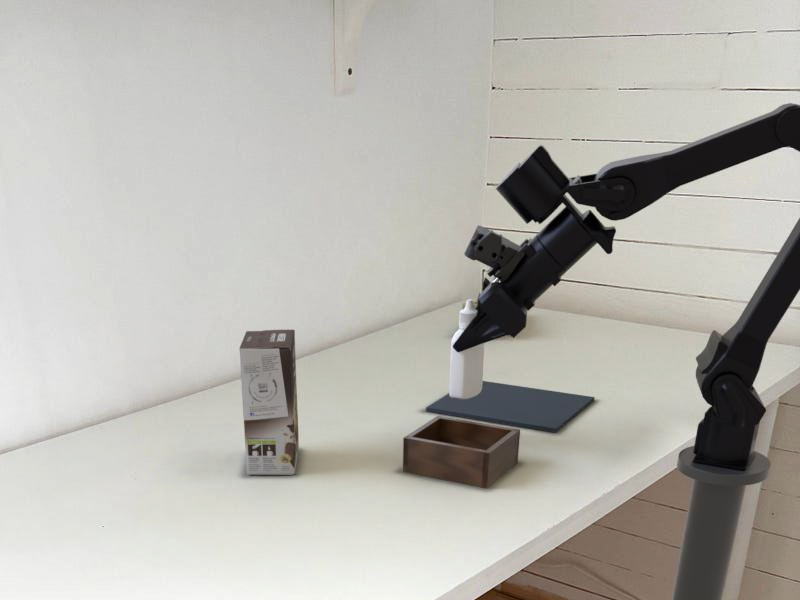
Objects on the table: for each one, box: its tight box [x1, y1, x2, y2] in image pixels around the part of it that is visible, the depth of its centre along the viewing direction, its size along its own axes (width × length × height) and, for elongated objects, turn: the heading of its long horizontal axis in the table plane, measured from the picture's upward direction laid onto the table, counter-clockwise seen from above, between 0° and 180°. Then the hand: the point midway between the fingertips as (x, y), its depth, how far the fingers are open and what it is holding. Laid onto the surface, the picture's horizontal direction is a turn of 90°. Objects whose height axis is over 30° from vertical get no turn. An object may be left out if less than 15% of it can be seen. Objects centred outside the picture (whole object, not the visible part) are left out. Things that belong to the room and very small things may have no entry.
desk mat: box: [425, 380, 595, 433], centre depth 146 cm, size 20×16×1 cm
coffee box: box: [239, 329, 300, 476], centre depth 125 cm, size 9×6×16 cm
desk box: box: [402, 415, 521, 489], centre depth 125 cm, size 12×10×4 cm
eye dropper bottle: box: [448, 298, 485, 399], centre depth 127 cm, size 4×6×12 cm
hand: (457, 343), depth 127 cm, fingers closed on eye dropper bottle, 5 cm apart
